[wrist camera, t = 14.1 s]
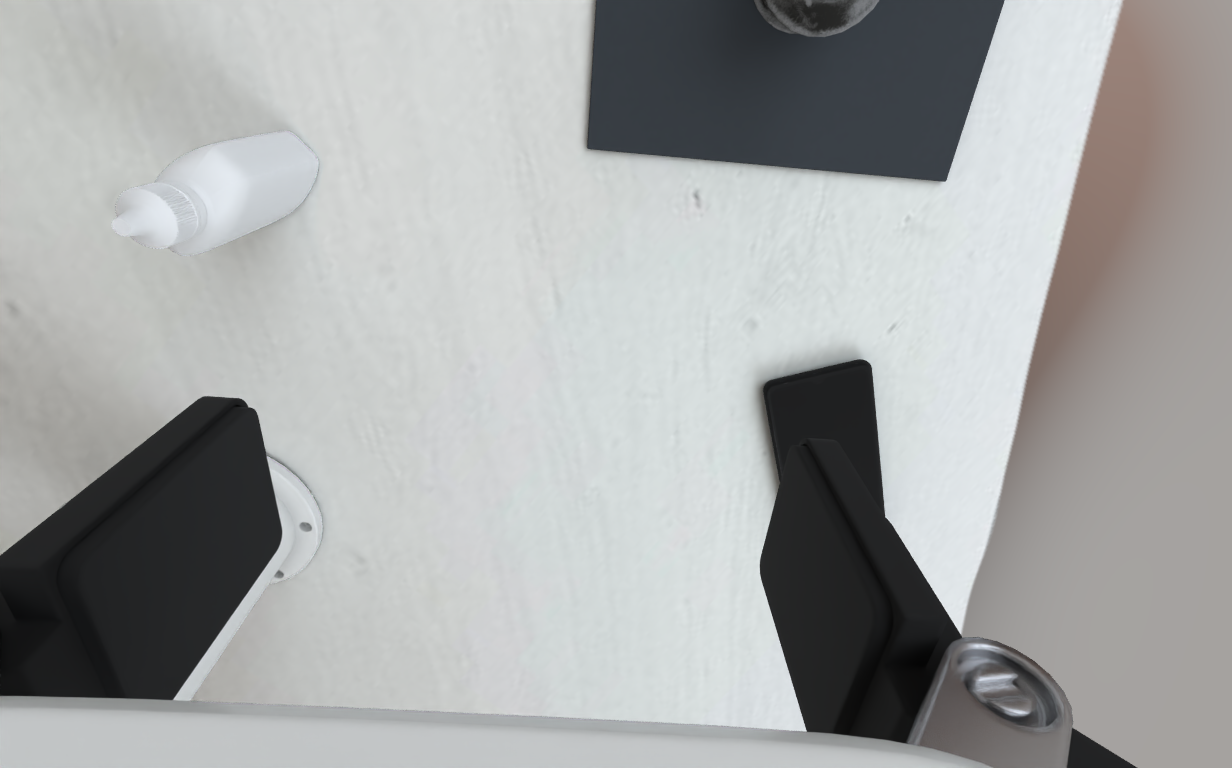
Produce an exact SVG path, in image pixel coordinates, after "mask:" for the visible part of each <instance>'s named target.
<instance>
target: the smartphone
mask: <svg viewBox="0 0 1232 768" xmlns="http://www.w3.org/2000/svg"><path fill="white" fill-rule="evenodd" d="M763 393H764V399H765V404H766V410H767V415H768V421H769V426H770V431H771V437H772V442H773V448H774V453H775V458H776V464H777V469H778V475H779V480H780V481H781V477H782V474H783V470H784V466H785V462H786V458H787V454H788V451H789V449H790V447H791V446H792V445H799V443H800V442H801V440H802V439H804V438H813V439H828V440H836V441H837V442H838V443H839V444H840V445H841V447H842V449H843V450H844V452H845V453H846V455H847V457H848V458H849V460H850V462H851V463H852V465H853V466H854V468H855V470H856V471H857V473H858V474H859V476H860V478H861V479H862V481H863V482H864V484H865V486H866V487H867V489H868V491H869V492H870V494H871V495H872V497H873V499H874V500H875V502H876V503H877V505H878V507H879V508H880V510H881V511H882V513H883V515H884V516H885V510H884V499H883V487H882V476H881V465H880V454H879V442H878V431H877V420H876V409H875V398H874V387H873V376H872V367H871V365H870V364H869V363H868V362H867V361H865V360H862V359H859V360H854V361H850V362H845V363H841V364H837V365H833V366H828V367H824V368H820V369H816V370H812V371H807V372H803V373H799V374H795V375H790V376H786V377H782V378H778V379H774V380H770V381H768V382H767V383H766V384H765V386H764V388H763Z"/></svg>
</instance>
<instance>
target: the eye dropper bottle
mask: <svg viewBox="0 0 1232 768" xmlns="http://www.w3.org/2000/svg"><path fill="white" fill-rule="evenodd" d="M318 168H319V161H318V158H317V156H316V155H315V153H314V152H313V151H312V150H311V149H310V148H309V147H308V146H307V145H306V144H305V143H303V142H302V141H301V140H300V139H299V138H298V137H297V136H296V135H295V134H293V133H292V132H290V131H277V132H271V133H266V134H260V135H254V136H249V137H243V138H238V139H232V140H227V141H222V142H218V143H213V144H209V145H205V146H202V147H200V148H197V149H194V150H192V151H190V152H188V153H186V154H184V155H182V156H181V157H179V158H177V159H176V160H175V161H173V162H172V163H171V164H169V165H168V166H167V167H166V168H165V169H164V170H163V171H162V172H161V173H160V175H159V176H158V177H157V179H156V180H155V182H154V183H150V184H146V185H142V186H137V187H133V188H130V189H127V190H125V191H124V192H122V193H121V194H120V196H119V197H118V198H117V201H116V206H115V208H116V209H115V211H116V216H117V217H116V218H115V219H113V221H112V228H113V230H114V231H115V232H116V233H117V234H118V235H120V236H130V237H131V238H132V239H133V240H135V241H136V242H138V243H139V244H141V245H144V246H147V247H149V248H155V249H160V248H161V249H163V248H169V249H170V250H172V251H173V252H175V253H177V254H179V255H182V256H193V255H197V254H201V253H204V252H206V251H209V250H211V249H214V248H216V247H219V246H221V245H223V244H225V243H228V242H230V241H232V240H235V239H237V238H239V237H242V236H244V235H246V234H248V233H251V232H253V231H255V230H257V229H260V228H262V227H264V226H267V225H269V224H271V223H273V222H275V221H278V220H280V219H281V218H283V217H285V216H287V215H288V214H290V213H291V212H292V211H293V210H295V209H296V208H297V207H298V206H299V205H300V204H301V203H302V202H303V201H304V199H305V198H306V197H307V195H308V194H309V192H310V190H311V188H312V186H313V184H314V182H315V179H316V176H317V173H318Z"/></svg>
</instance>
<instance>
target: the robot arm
mask: <svg viewBox="0 0 1232 768" xmlns="http://www.w3.org/2000/svg"><path fill="white" fill-rule="evenodd" d="M322 532H323V524H322V516H321V513H320V510H319V508H318V505H317V503H316V501H315V499H314V498H313V496H312V494H311V493H310V491H309V490H308V488H307V487H306V486H305V485H304V484H303V483H302V482H301V480H300V479H299V478H298V477H297V476H295V475H294V474H293V473H292V472H291V471H290V470H288V469H287V468H286V467H285V466H283V465H282V464H280V463H278V462H277V461H275V460H273V459H272V458H270V457H268V456H266V451H265V446H264V442H263V437H262V433H261V428H260V423H259V419H258V415H257V412H256V411H255V410H254V409H253V408H248V405H247V404H246V402H245V401H244V400H242V399H239V398H225V397H210V396H205V397H202V398H200V399H198V400H197V401H195V402H194V403H193V404H192V405H190V406H189V407H188V408H187V409H185V410H184V411H183V412H182V413H180V414H179V415H178V416H176V417H175V418H174V419H173V420H171V421H170V422H169V423H168V424H166V425H165V426H164V427H163V428H161V429H160V430H159V431H157V432H156V433H155V434H154V435H152V436H151V437H150V438H149V439H147V440H146V441H145V442H144V443H142V444H141V445H140V446H138V447H137V448H136V449H135V450H133V451H132V452H131V453H130V454H128V455H127V456H126V457H124V458H123V459H122V460H121V461H119V462H118V463H117V464H116V465H114V466H113V467H112V468H111V469H109V470H108V471H107V472H105V473H104V474H103V475H102V476H100V477H99V478H98V479H97V480H95V481H94V482H93V483H92V484H90V485H89V486H88V487H86V488H85V489H84V490H83V491H81V492H80V493H79V494H78V495H76V496H75V497H74V498H73V499H71V500H70V501H69V502H67V503H65V504H64V505H62V506H61V507H60V508H59V510H57V511H56V512H55V513H54V514H52V515H51V516H50V517H48V518H47V519H46V520H45V521H43V522H42V523H41V524H40V525H38V526H37V527H36V528H35V529H33V530H32V531H31V532H29V533H28V534H27V535H26V536H24V537H23V538H22V539H21V540H19V541H18V542H17V543H16V544H14V545H13V546H12V547H10V548H9V549H8V550H7V551H5V552H4V553H3V554H2V555H0V768H1137V767H1135V766H1133V765H1132V764H1130V763H1129V762H1127V761H1125V760H1124V759H1122V758H1121V757H1119V756H1117V755H1115V754H1114V753H1112V752H1111V751H1109V750H1108V749H1106V748H1104V747H1103V746H1101V745H1099V744H1098V743H1096V742H1094V741H1093V740H1091V739H1090V738H1088V737H1086V736H1085V735H1083V734H1081V733H1080V732H1078V731H1077V730H1075V729H1073V728H1072V725H1073V717H1072V708H1071V705H1070V703H1069V701H1068V699H1067V697H1066V695H1065V693H1064V691H1063V690H1062V689H1061V687H1060V686H1059V685H1058V684H1057V683H1056V681H1055V680H1054V679H1053V678H1052V676H1051V675H1050V674H1049V673H1047V672H1046V671H1045V670H1044V669H1043V668H1042V667H1040V666H1039V665H1038V664H1037V663H1036V662H1035V661H1033V660H1032V659H1030V658H1029V657H1027V656H1025V655H1023V654H1022V653H1021V652H1019V651H1017V650H1015V649H1013V648H1011V647H1009V646H1007V645H1004V644H1002V643H999V642H997V641H993V640H989V639H984V638H980V637H968V638H962V636H961V634H960V633H959V631H958V630H957V628H956V626H955V625H954V623H953V622H952V620H951V618H950V617H949V615H948V614H947V612H946V610H945V609H944V607H943V606H942V604H941V602H940V601H939V599H938V598H937V596H936V594H935V593H934V591H933V590H932V588H931V586H930V585H929V583H928V582H927V580H926V578H925V577H924V575H923V574H922V572H921V570H920V569H919V567H918V566H917V564H916V562H915V561H914V559H913V558H912V556H911V555H910V553H909V551H908V550H907V548H906V547H905V545H904V543H903V542H902V540H901V539H900V537H899V535H898V534H897V532H896V531H895V529H894V527H893V526H892V524H891V523H890V522H889V521H888V520H887V518H885V516H884V515H883V513H882V511H881V510H880V508H879V507H878V505H877V503H876V502H875V500H874V499H873V497H872V495H871V494H870V492H869V491H868V489H867V487H866V486H865V484H864V482H863V481H862V479H861V478H860V476H859V474H858V473H857V471H856V470H855V468H854V466H853V465H852V463H851V462H850V460H849V458H848V457H847V455H846V453H845V452H844V450H843V449H842V447H841V445H840V444H839V443H838V442H837V441H836V440H828V439H813V438H804V439H802V440H801V442H800V443H799V445H792V446H791V447H790V449H789V451H788V454H787V458H786V462H785V466H784V470H783V474H782V477H781V481H780V485H779V489H778V493H777V497H776V500H775V504H774V508H773V512H772V516H771V520H770V524H769V527H768V531H767V535H766V539H765V543H764V547H763V551H762V554H761V559H760V575H761V580H762V583H763V586H764V590H765V593H766V596H767V600H768V603H769V606H770V610H771V613H772V616H773V620H774V623H775V627H776V630H777V633H778V637H779V640H780V643H781V647H782V650H783V653H784V657H785V660H786V663H787V667H788V670H789V673H790V677H791V680H792V683H793V687H794V690H795V693H796V697H797V700H798V703H799V707H800V710H801V713H802V717H803V720H804V723H805V727H806V730H807V732H802V731H788V730H774V729H759V728H745V727H730V726H715V725H695V724H676V723H657V722H638V721H619V720H600V719H580V718H561V717H542V716H520V715H499V714H478V713H457V712H436V711H414V710H392V709H370V708H348V707H326V706H301V705H277V704H252V703H228V702H203V701H191V699H192V698H193V696H194V695H195V693H196V692H197V690H198V689H199V687H200V686H201V684H202V683H203V681H204V680H205V678H206V677H207V675H208V674H209V672H210V671H211V669H212V668H213V666H214V665H215V663H216V662H217V660H218V659H219V657H220V656H221V654H222V653H223V651H224V650H225V648H226V647H227V645H228V644H229V642H230V641H231V639H232V638H233V636H234V635H235V633H236V632H237V630H238V629H239V627H240V626H241V624H242V623H243V621H244V620H245V618H246V617H247V615H248V614H249V612H250V611H251V610H252V608H253V607H254V605H255V604H256V602H257V601H258V599H259V598H260V596H261V595H262V593H263V592H264V590H265V589H266V587H267V586H268V584H274V583H278V582H281V581H283V580H286V579H289V578H291V577H292V576H294V575H296V574H297V573H299V572H300V571H301V570H302V569H304V568H305V567H306V566H307V565H308V564H309V562H310V561H311V559H312V558H313V556H314V555H315V553H316V552H317V549H318V547H319V545H320V543H321V539H322Z"/></svg>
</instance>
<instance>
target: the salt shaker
mask: <svg viewBox="0 0 1232 768" xmlns="http://www.w3.org/2000/svg"><path fill="white" fill-rule="evenodd" d="M878 1H879V0H754V2H755V5H756V7H757V9H758V11H759V12H760V14H761V15H762V16H763V18H764V19H765V20H766V21H767V22H768V23H769V24H771V25H772V26H773V27H775V28H776V29H778V30H781V31H783V32H786V33H789V34H802V35H805V36H808V37H826V36H830V35H834V34H837V33H841V32H844V31H845V30H847V29H849V28H850V27H852V26H854V25H855V24H857V23H859V22H860V21H861V20H862V19H863V18H864V17H865V16H866V15H867V14H868V13H869V12H870V11H872V10H873V9H874V7H875V6H876V4H877V3H878Z"/></svg>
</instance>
